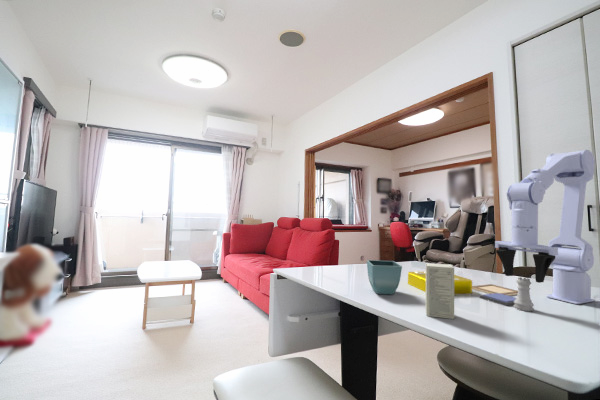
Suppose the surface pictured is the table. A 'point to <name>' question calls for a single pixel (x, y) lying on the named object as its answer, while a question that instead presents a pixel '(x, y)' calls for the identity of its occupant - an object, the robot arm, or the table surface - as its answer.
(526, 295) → the rook chess piece
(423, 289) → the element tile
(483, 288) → the mat
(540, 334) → the table surface
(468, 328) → the table surface
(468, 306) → the table surface
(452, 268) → the skincare box
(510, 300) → the ink pad
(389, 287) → the flower pot
